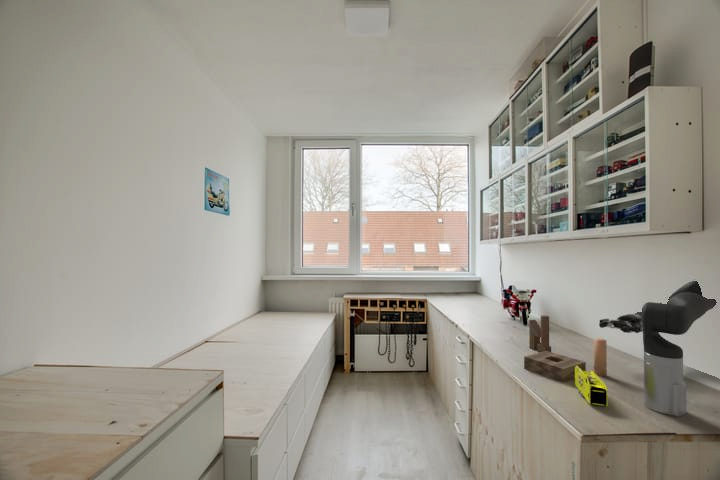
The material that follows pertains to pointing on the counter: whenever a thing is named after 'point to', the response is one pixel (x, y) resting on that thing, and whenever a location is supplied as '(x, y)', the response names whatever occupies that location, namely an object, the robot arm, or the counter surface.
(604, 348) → the pin
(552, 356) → the socket block
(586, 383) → the yellow toy chassis
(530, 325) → the wooden block
